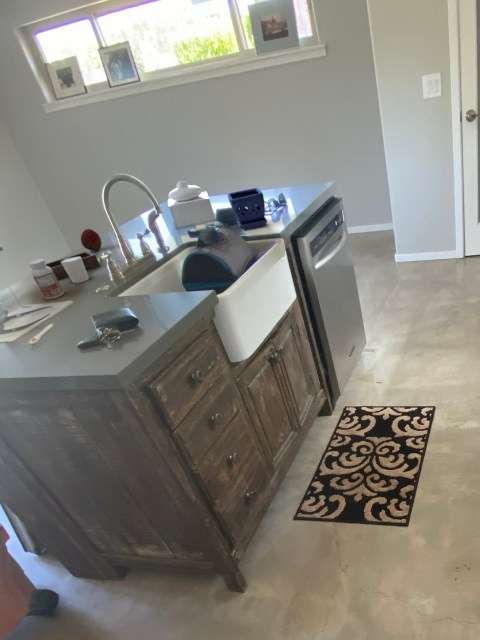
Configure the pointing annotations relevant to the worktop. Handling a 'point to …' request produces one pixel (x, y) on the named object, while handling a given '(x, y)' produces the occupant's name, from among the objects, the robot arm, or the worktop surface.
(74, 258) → the white cup
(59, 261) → the brown wooden tray
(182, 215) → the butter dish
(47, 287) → the pill bottle
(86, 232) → the apple
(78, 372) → the worktop surface
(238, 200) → the flower pot
